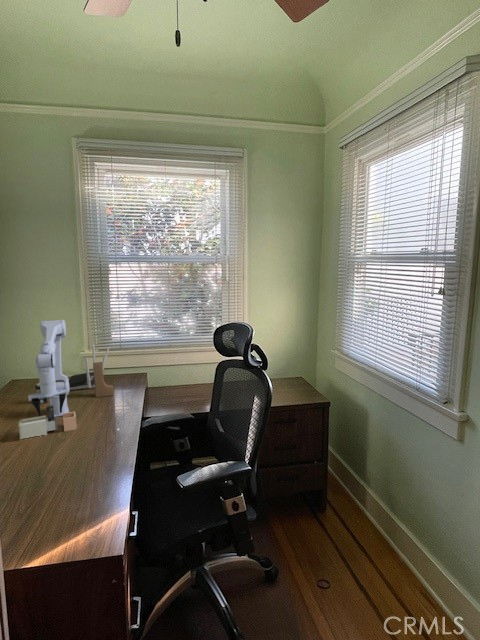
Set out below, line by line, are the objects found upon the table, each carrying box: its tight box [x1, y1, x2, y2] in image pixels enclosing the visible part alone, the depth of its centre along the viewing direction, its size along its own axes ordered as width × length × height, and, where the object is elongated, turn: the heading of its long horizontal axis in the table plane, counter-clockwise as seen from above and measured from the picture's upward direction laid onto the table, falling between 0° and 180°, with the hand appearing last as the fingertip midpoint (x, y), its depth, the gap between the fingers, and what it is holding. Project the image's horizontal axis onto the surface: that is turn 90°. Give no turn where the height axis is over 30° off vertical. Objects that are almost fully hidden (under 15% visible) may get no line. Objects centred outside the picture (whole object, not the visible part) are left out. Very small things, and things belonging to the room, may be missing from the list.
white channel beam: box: [18, 414, 48, 440], centre depth 147 cm, size 6×10×6 cm, turn 118°
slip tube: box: [25, 405, 58, 432], centre depth 148 cm, size 4×12×10 cm, turn 118°
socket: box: [62, 411, 78, 432], centre depth 153 cm, size 6×5×6 cm
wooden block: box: [92, 361, 114, 398], centre depth 190 cm, size 9×4×18 cm, turn 111°
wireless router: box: [68, 343, 110, 391], centre depth 211 cm, size 34×23×20 cm
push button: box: [34, 382, 49, 404], centre depth 182 cm, size 7×5×10 cm
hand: (50, 413), depth 149 cm, fingers open, 7 cm apart
